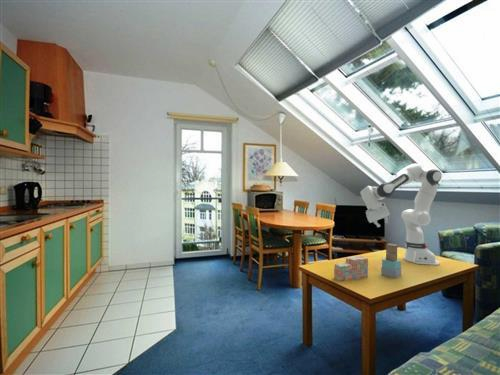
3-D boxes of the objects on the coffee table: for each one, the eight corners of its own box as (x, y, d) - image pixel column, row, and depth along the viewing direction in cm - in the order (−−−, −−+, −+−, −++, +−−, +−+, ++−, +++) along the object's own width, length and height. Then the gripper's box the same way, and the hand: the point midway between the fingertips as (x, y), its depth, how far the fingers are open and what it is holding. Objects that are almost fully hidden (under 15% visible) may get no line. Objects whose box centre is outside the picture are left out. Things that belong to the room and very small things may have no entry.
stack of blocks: (340, 281, 153) (341, 261, 153) (334, 278, 159) (334, 258, 159) (367, 277, 161) (368, 258, 160) (360, 273, 167) (360, 255, 166)
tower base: (386, 271, 171) (386, 264, 171) (401, 275, 164) (401, 267, 164) (381, 274, 165) (381, 267, 165) (396, 278, 158) (396, 270, 158)
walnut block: (388, 258, 168) (389, 243, 168) (396, 260, 164) (397, 244, 164) (385, 259, 164) (386, 244, 164) (394, 261, 161) (394, 246, 161)
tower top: (388, 264, 170) (388, 257, 170) (400, 268, 164) (400, 260, 164) (382, 267, 166) (382, 259, 165) (394, 270, 159) (394, 262, 159)
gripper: (368, 209, 177) (377, 227, 173) (386, 202, 186) (395, 220, 183) (361, 212, 182) (370, 230, 179) (379, 205, 192) (388, 222, 188)
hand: (383, 225), depth 181 cm, fingers open, 8 cm apart
